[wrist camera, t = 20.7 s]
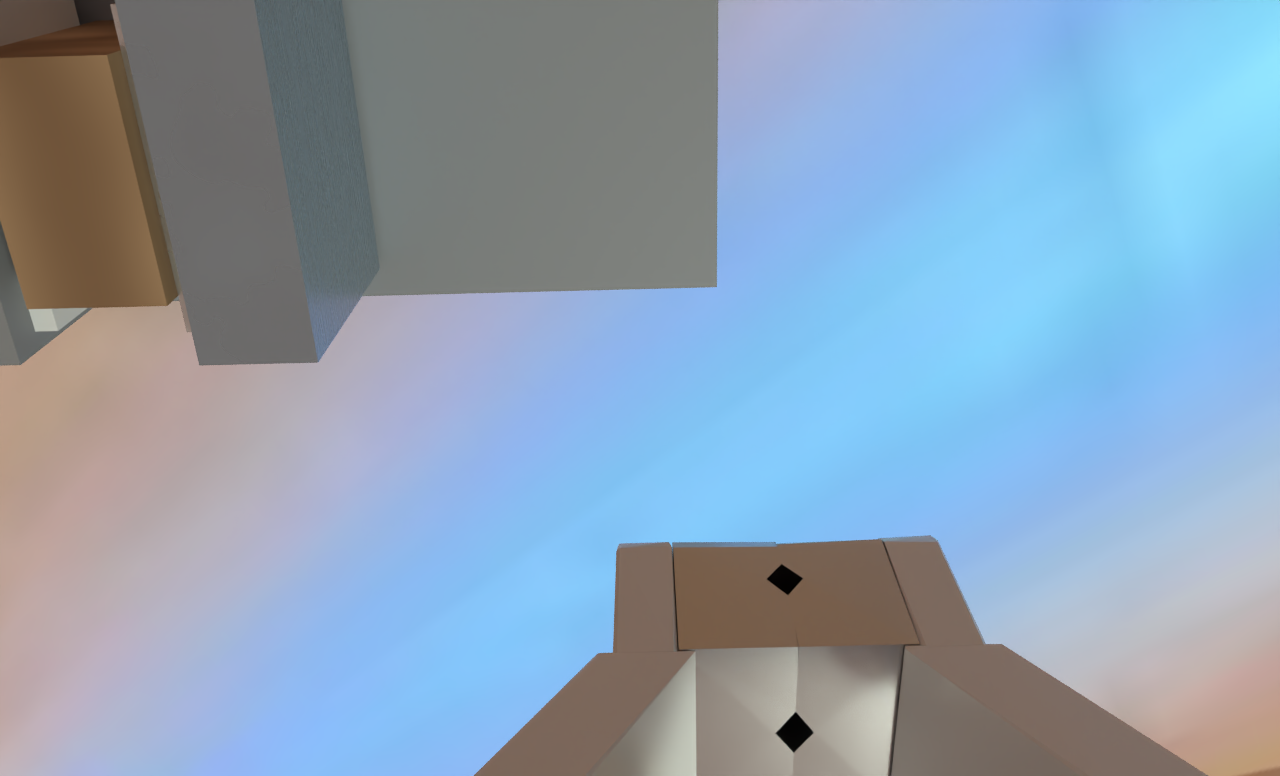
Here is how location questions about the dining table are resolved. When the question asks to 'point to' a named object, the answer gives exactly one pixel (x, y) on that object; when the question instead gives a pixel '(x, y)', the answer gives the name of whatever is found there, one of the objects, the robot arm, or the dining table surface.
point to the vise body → (502, 145)
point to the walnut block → (77, 176)
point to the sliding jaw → (253, 169)
